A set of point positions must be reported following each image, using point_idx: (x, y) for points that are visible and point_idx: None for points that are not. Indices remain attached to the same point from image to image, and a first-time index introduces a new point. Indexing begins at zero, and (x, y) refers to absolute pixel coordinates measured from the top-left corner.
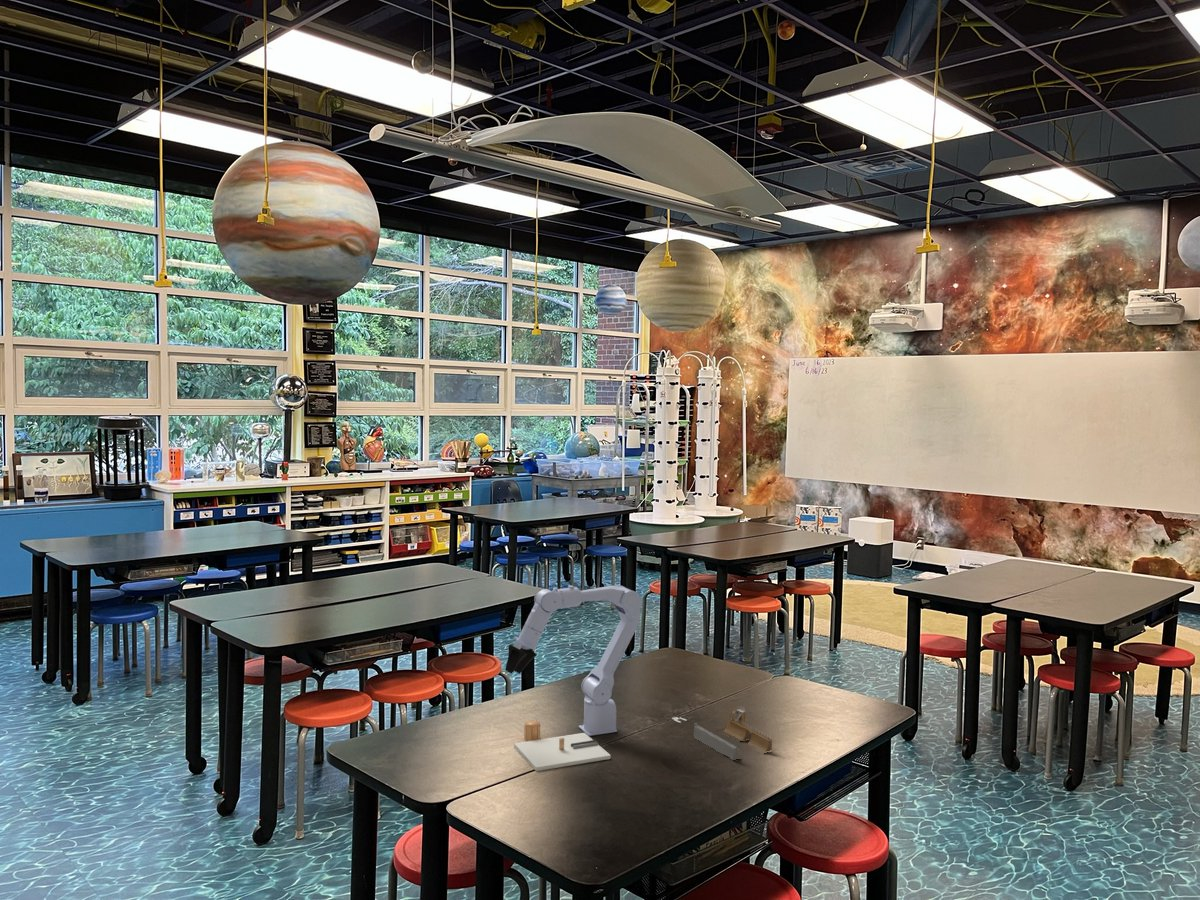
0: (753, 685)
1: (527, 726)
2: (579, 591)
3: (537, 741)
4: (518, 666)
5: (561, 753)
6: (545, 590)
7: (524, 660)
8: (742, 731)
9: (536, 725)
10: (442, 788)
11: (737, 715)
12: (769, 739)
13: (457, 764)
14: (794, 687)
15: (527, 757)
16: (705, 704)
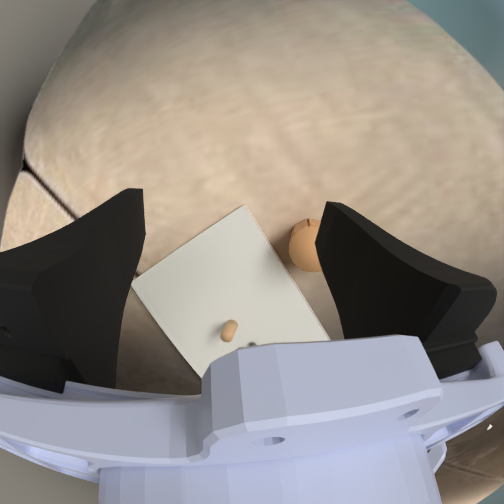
0: (493, 477)
1: (292, 237)
2: None
3: (268, 263)
4: (336, 242)
5: (208, 326)
6: None
7: (353, 305)
8: None
9: (296, 265)
10: (50, 138)
11: None
12: None
13: (128, 112)
14: (473, 499)
15: (168, 257)
16: (457, 466)
